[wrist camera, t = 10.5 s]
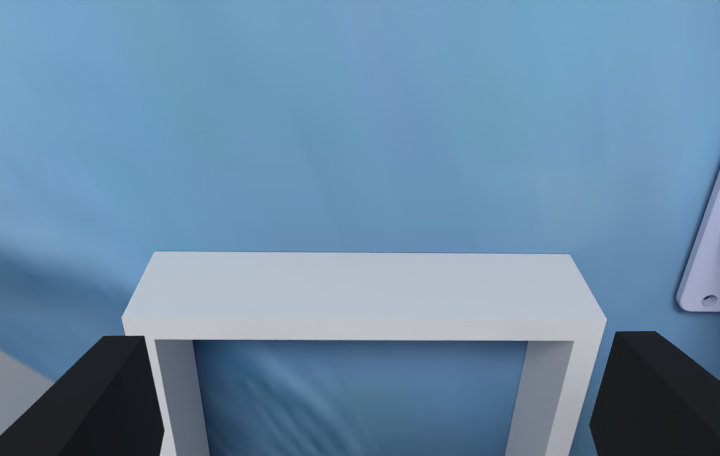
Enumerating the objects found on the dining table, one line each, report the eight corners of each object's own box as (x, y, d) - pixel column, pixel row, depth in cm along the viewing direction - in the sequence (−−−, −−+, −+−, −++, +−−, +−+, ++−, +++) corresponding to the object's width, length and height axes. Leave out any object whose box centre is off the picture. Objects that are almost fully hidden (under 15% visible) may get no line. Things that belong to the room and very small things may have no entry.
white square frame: (569, 254, 21) (606, 319, 18) (510, 512, 28) (530, 590, 25) (154, 251, 21) (121, 317, 18) (200, 513, 28) (183, 592, 25)
